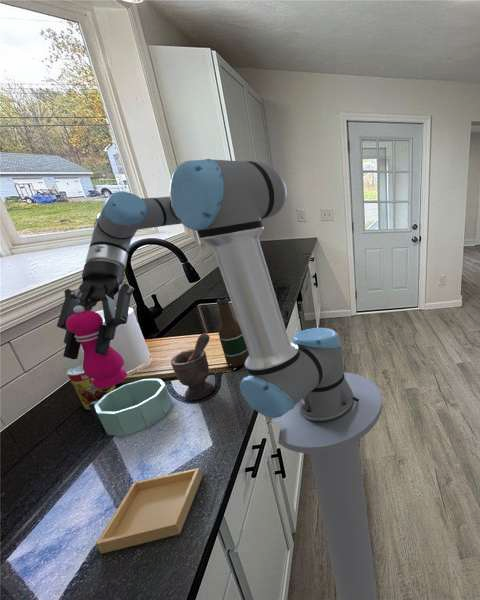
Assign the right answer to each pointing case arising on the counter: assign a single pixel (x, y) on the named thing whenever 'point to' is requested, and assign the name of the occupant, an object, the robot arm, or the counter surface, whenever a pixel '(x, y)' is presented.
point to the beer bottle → (231, 336)
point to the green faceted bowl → (126, 418)
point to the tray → (151, 510)
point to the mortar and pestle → (193, 369)
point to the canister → (129, 343)
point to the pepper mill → (94, 365)
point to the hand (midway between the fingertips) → (85, 355)
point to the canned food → (86, 386)
